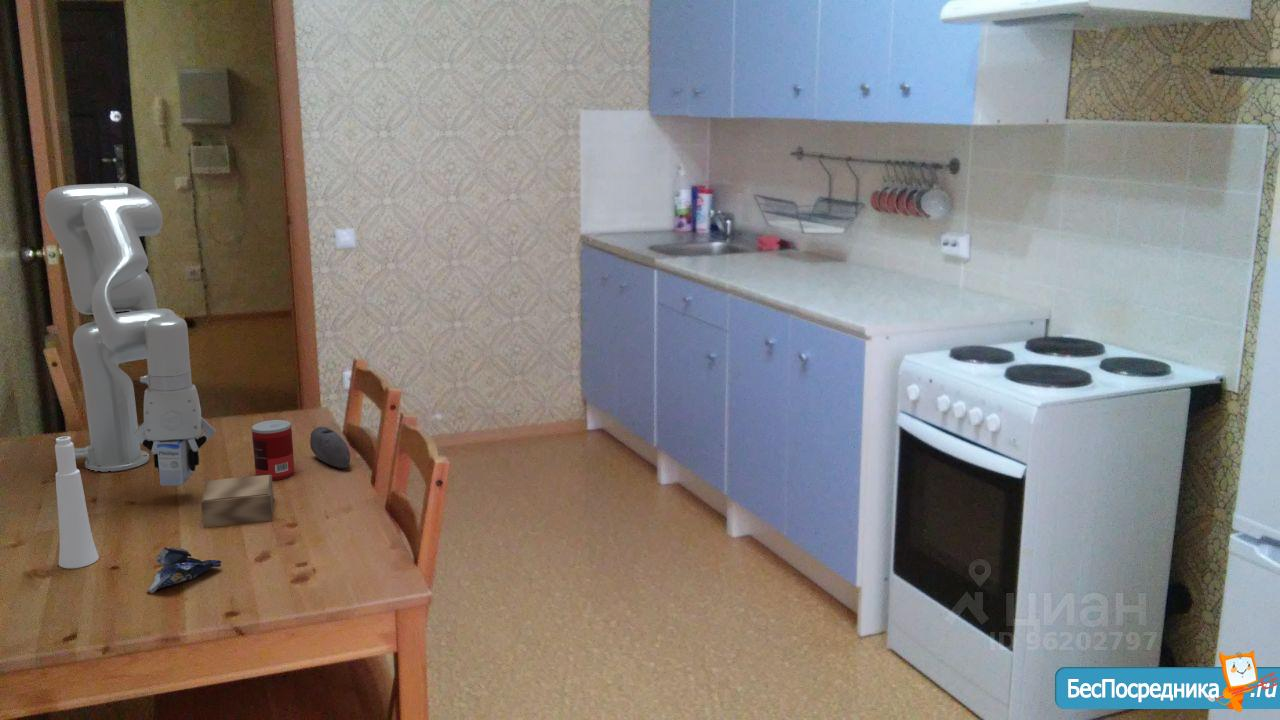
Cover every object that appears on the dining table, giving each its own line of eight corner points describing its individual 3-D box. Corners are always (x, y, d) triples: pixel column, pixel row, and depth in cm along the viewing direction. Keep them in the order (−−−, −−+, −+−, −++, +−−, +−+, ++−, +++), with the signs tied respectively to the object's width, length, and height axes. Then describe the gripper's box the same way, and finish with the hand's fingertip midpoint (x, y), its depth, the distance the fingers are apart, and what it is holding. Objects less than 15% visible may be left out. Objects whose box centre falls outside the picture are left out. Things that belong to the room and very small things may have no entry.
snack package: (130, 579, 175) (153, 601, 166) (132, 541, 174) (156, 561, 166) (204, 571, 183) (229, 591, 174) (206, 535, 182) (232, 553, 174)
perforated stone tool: (358, 470, 227) (356, 439, 226) (335, 475, 224) (333, 444, 222) (332, 453, 239) (330, 423, 237) (309, 457, 236) (307, 427, 234)
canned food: (300, 469, 227) (296, 420, 225) (284, 481, 220) (280, 431, 217) (266, 468, 228) (262, 419, 226) (249, 480, 220) (245, 430, 218)
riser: (203, 527, 195) (201, 501, 194) (208, 505, 207) (206, 479, 205) (272, 520, 199) (270, 494, 198) (273, 498, 210) (271, 473, 209)
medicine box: (173, 471, 212) (169, 430, 210) (196, 471, 213) (192, 430, 210) (159, 486, 205) (155, 444, 202) (183, 486, 205) (180, 443, 203)
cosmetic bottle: (71, 571, 177) (55, 445, 172) (51, 563, 180) (34, 439, 175) (106, 559, 182) (91, 436, 177) (85, 551, 185) (70, 430, 180)
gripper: (118, 388, 198) (127, 480, 202) (216, 384, 203) (222, 473, 207) (124, 377, 204) (132, 466, 209) (219, 373, 209) (225, 460, 214)
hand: (177, 468), depth 208 cm, fingers closed on medicine box, 5 cm apart
